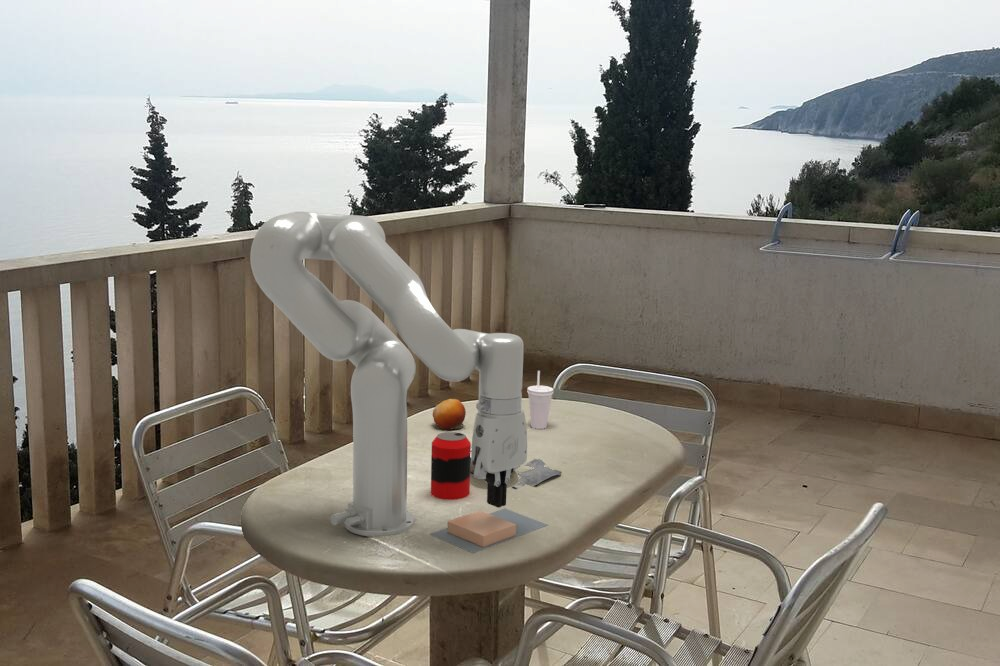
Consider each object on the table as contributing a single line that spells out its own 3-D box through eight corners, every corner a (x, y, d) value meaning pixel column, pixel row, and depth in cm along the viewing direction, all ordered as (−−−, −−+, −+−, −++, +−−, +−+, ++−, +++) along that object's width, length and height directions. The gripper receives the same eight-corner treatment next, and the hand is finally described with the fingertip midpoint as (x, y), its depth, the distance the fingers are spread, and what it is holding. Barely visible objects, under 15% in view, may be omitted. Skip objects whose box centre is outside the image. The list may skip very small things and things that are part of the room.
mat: (472, 555, 169) (473, 553, 169) (429, 536, 177) (429, 533, 176) (548, 527, 182) (548, 524, 182) (504, 510, 190) (504, 508, 190)
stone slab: (533, 457, 220) (572, 464, 214) (533, 465, 220) (572, 472, 214) (483, 480, 205) (523, 488, 199) (483, 489, 206) (523, 497, 200)
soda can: (477, 496, 197) (479, 437, 195) (448, 504, 192) (450, 444, 190) (451, 485, 203) (452, 428, 200) (422, 494, 197) (423, 435, 195)
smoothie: (527, 422, 250) (529, 367, 247) (553, 424, 249) (555, 369, 246) (524, 429, 244) (526, 373, 241) (550, 431, 243) (553, 374, 240)
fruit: (472, 426, 240) (455, 398, 238) (443, 442, 240) (426, 413, 239) (473, 417, 248) (457, 389, 246) (446, 432, 248) (429, 405, 247)
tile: (515, 535, 177) (483, 547, 171) (479, 521, 183) (447, 532, 177) (516, 524, 177) (483, 536, 171) (480, 510, 183) (447, 521, 177)
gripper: (484, 416, 168) (481, 520, 171) (544, 402, 178) (540, 500, 182) (453, 407, 173) (451, 508, 176) (513, 393, 183) (510, 489, 187)
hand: (496, 504), depth 179 cm, fingers closed
